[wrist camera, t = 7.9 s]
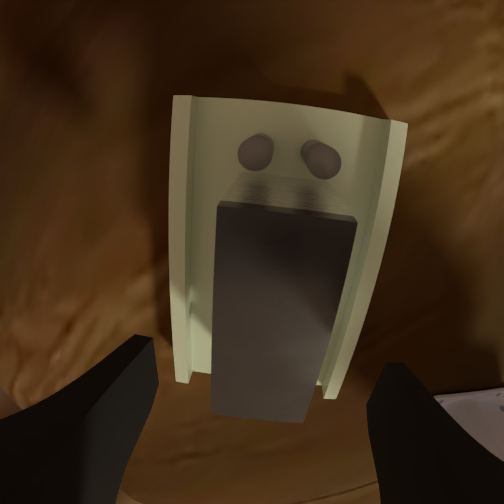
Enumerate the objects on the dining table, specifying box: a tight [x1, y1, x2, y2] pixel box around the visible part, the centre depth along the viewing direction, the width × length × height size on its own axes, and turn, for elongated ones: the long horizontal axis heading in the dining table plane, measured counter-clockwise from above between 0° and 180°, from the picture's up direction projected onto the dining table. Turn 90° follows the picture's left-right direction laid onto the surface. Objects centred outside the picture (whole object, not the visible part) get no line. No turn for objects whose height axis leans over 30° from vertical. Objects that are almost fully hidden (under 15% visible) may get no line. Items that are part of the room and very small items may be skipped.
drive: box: [211, 172, 358, 423], centre depth 13 cm, size 4×9×6 cm, turn 175°
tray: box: [169, 95, 408, 399], centre depth 15 cm, size 10×16×4 cm, turn 175°
